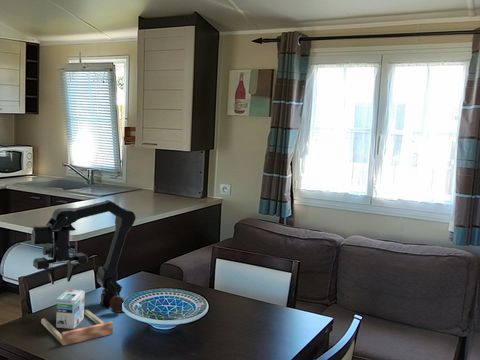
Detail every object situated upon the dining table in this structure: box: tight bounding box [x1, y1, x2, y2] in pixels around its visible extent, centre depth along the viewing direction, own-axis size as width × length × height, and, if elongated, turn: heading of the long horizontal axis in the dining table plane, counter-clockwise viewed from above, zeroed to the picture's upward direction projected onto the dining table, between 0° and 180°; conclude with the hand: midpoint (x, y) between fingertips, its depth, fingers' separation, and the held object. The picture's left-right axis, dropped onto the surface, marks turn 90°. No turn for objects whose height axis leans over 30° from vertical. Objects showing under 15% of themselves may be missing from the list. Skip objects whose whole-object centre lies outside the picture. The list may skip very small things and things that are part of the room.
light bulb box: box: [55, 289, 86, 330], centre depth 177 cm, size 11×7×11 cm, turn 179°
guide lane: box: [40, 309, 114, 346], centre depth 173 cm, size 17×22×4 cm
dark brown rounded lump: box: [108, 295, 125, 314], centre depth 191 cm, size 8×8×7 cm
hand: (60, 282), depth 184 cm, fingers open, 6 cm apart
